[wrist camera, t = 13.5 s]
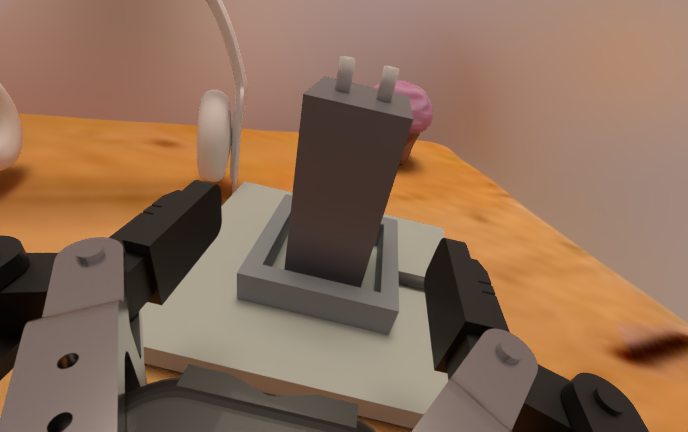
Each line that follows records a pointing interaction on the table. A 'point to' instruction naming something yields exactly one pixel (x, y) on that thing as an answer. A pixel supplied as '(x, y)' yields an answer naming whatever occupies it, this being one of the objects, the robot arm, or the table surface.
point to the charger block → (344, 173)
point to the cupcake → (414, 112)
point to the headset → (213, 121)
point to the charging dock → (304, 315)
